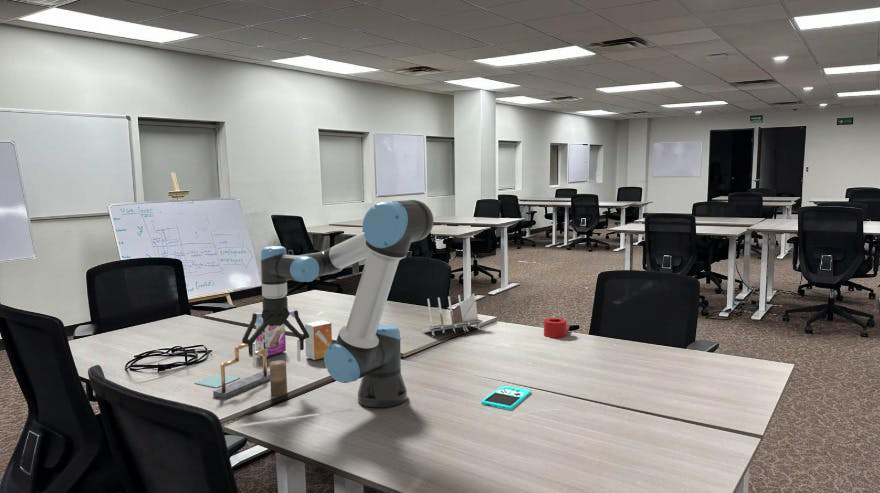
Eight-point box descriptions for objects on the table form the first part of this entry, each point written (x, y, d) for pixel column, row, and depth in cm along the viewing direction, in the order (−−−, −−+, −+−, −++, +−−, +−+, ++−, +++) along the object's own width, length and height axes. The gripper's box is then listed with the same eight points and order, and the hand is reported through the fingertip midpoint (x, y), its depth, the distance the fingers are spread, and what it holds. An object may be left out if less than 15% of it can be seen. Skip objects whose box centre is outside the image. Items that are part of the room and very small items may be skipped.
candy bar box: (265, 358, 223) (263, 316, 221) (256, 356, 225) (254, 314, 223) (287, 351, 232) (285, 310, 230) (277, 349, 235) (276, 308, 233)
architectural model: (491, 328, 255) (484, 286, 257) (440, 336, 243) (433, 292, 246) (471, 330, 270) (465, 291, 273) (422, 338, 258) (416, 296, 261)
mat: (239, 378, 201) (239, 377, 201) (216, 388, 192) (216, 387, 192) (218, 374, 205) (218, 373, 205) (194, 383, 196) (194, 382, 196)
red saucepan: (561, 340, 245) (561, 324, 244) (540, 336, 250) (540, 321, 249) (576, 330, 260) (577, 315, 259) (556, 327, 265) (556, 313, 264)
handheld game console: (531, 394, 185) (532, 389, 185) (511, 411, 172) (511, 407, 171) (502, 388, 190) (502, 384, 190) (480, 405, 177) (480, 400, 177)
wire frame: (275, 378, 201) (273, 336, 200) (225, 400, 182) (222, 354, 180) (264, 376, 204) (262, 335, 202) (213, 397, 184) (210, 352, 183)
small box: (314, 360, 220) (313, 326, 218) (305, 357, 224) (304, 323, 223) (332, 355, 225) (331, 322, 224) (323, 352, 230) (322, 319, 228)
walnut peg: (287, 395, 185) (286, 364, 184) (271, 397, 183) (269, 366, 182) (286, 389, 190) (285, 359, 188) (270, 391, 188) (269, 361, 187)
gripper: (314, 291, 190) (315, 354, 193) (232, 296, 182) (235, 362, 185) (317, 296, 183) (318, 361, 186) (232, 301, 175) (235, 369, 178)
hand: (276, 362), depth 186 cm, fingers open, 13 cm apart
